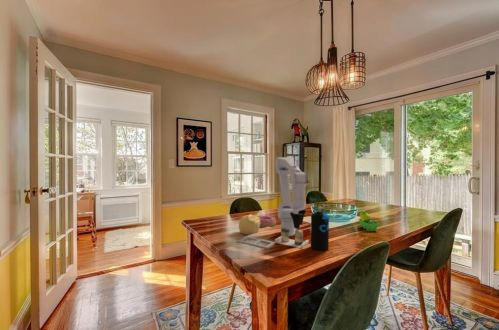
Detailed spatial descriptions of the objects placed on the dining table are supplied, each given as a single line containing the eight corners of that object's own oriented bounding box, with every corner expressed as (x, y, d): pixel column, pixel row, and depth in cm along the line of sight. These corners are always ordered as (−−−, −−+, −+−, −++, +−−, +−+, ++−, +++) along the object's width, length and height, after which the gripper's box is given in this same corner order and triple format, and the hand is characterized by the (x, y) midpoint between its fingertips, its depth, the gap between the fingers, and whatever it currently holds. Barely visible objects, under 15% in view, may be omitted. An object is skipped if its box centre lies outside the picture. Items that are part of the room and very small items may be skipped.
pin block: (247, 240, 122) (247, 236, 122) (275, 246, 114) (275, 242, 114) (237, 245, 115) (238, 240, 115) (267, 251, 107) (267, 247, 107)
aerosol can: (306, 251, 108) (307, 207, 108) (316, 246, 114) (316, 205, 114) (323, 256, 102) (324, 209, 102) (332, 251, 108) (333, 207, 108)
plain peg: (283, 239, 120) (283, 227, 120) (290, 240, 118) (290, 228, 118) (279, 241, 116) (279, 229, 116) (287, 243, 114) (287, 230, 114)
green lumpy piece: (379, 231, 141) (379, 212, 141) (364, 231, 141) (364, 212, 141) (370, 226, 152) (370, 209, 152) (356, 226, 153) (356, 208, 153)
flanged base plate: (282, 240, 123) (282, 235, 123) (309, 245, 115) (309, 240, 115) (274, 245, 115) (274, 239, 115) (302, 251, 108) (302, 245, 108)
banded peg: (296, 242, 116) (296, 229, 116) (304, 243, 114) (304, 230, 114) (293, 244, 113) (293, 231, 113) (301, 245, 110) (301, 233, 110)
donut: (257, 221, 163) (258, 214, 163) (278, 223, 158) (278, 216, 158) (250, 226, 150) (250, 218, 150) (272, 229, 145) (272, 220, 145)
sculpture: (256, 237, 127) (256, 217, 127) (235, 235, 131) (235, 215, 131) (262, 232, 138) (262, 213, 138) (242, 229, 142) (243, 211, 142)
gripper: (293, 195, 121) (293, 222, 121) (286, 199, 108) (286, 229, 108) (307, 196, 119) (307, 223, 119) (302, 200, 105) (302, 231, 105)
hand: (298, 226), depth 113 cm, fingers open, 7 cm apart
